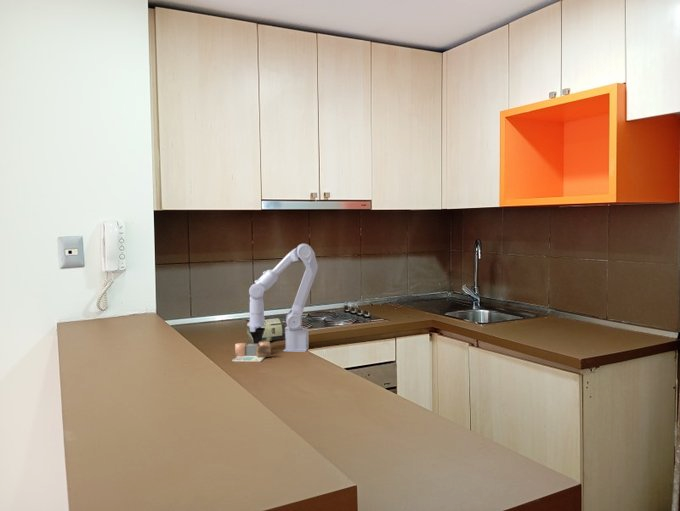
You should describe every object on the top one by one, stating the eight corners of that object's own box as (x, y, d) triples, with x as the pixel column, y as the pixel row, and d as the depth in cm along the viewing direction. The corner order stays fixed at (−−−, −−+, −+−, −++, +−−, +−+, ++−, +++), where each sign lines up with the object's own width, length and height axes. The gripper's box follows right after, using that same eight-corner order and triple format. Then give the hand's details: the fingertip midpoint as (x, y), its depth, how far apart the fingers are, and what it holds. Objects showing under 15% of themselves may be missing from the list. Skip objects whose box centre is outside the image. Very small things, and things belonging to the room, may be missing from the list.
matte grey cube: (259, 353, 216) (258, 343, 216) (256, 356, 212) (256, 345, 212) (249, 353, 216) (249, 343, 216) (246, 355, 212) (246, 345, 212)
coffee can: (246, 337, 242) (275, 334, 248) (253, 348, 233) (283, 345, 240) (247, 316, 239) (277, 313, 245) (254, 327, 230) (285, 324, 236)
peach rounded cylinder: (271, 351, 218) (271, 340, 218) (268, 354, 214) (268, 343, 214) (260, 351, 219) (260, 340, 219) (257, 354, 215) (257, 343, 214)
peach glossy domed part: (247, 354, 215) (247, 342, 215) (244, 356, 211) (244, 345, 211) (237, 353, 216) (236, 342, 216) (233, 356, 212) (233, 345, 211)
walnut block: (268, 354, 213) (268, 344, 213) (270, 356, 210) (270, 346, 210) (256, 356, 211) (256, 346, 211) (258, 357, 209) (258, 347, 208)
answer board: (269, 353, 218) (269, 351, 218) (260, 361, 204) (260, 360, 204) (243, 353, 220) (242, 351, 220) (232, 361, 206) (232, 359, 206)
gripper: (252, 310, 228) (252, 342, 229) (242, 315, 214) (242, 350, 215) (268, 310, 227) (269, 342, 228) (259, 316, 213) (260, 350, 214)
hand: (257, 346), depth 221 cm, fingers closed
